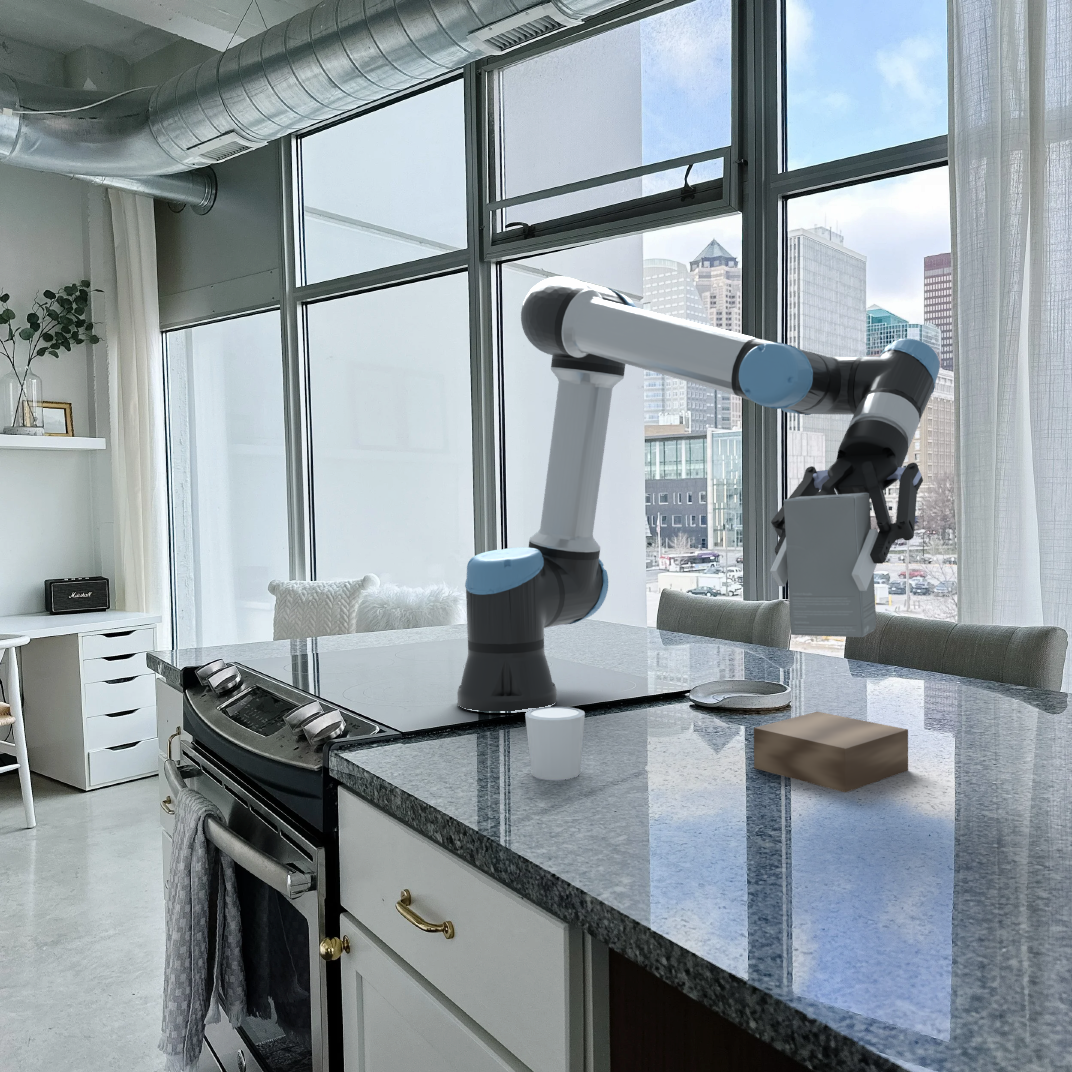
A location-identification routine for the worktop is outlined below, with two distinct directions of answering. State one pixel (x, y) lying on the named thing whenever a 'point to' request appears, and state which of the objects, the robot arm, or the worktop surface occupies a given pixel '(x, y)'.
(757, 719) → the worktop surface
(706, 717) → the worktop surface
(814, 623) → the skincare box
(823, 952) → the worktop surface
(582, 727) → the white tapered cup
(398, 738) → the worktop surface
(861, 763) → the walnut block
